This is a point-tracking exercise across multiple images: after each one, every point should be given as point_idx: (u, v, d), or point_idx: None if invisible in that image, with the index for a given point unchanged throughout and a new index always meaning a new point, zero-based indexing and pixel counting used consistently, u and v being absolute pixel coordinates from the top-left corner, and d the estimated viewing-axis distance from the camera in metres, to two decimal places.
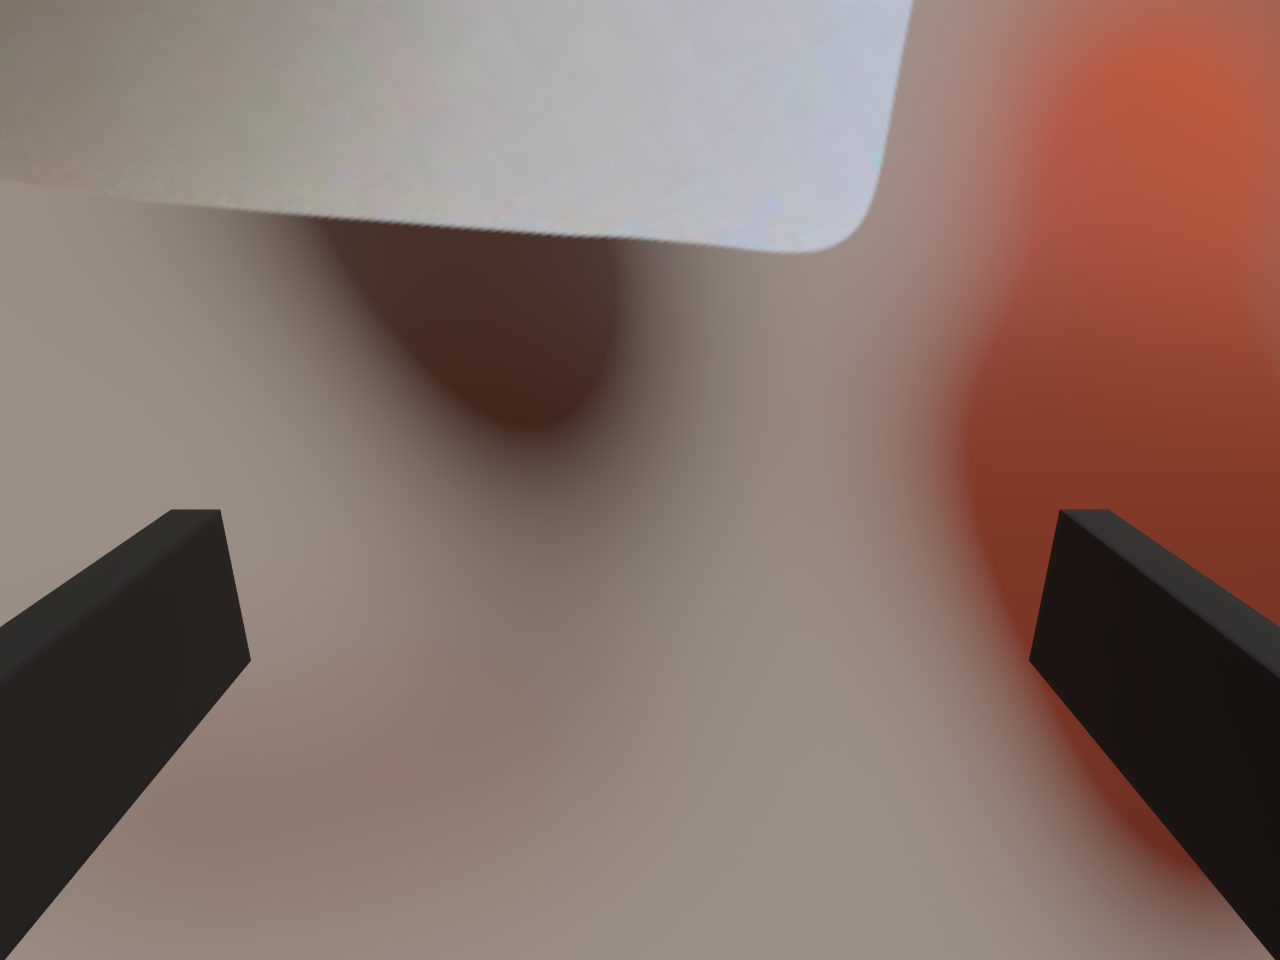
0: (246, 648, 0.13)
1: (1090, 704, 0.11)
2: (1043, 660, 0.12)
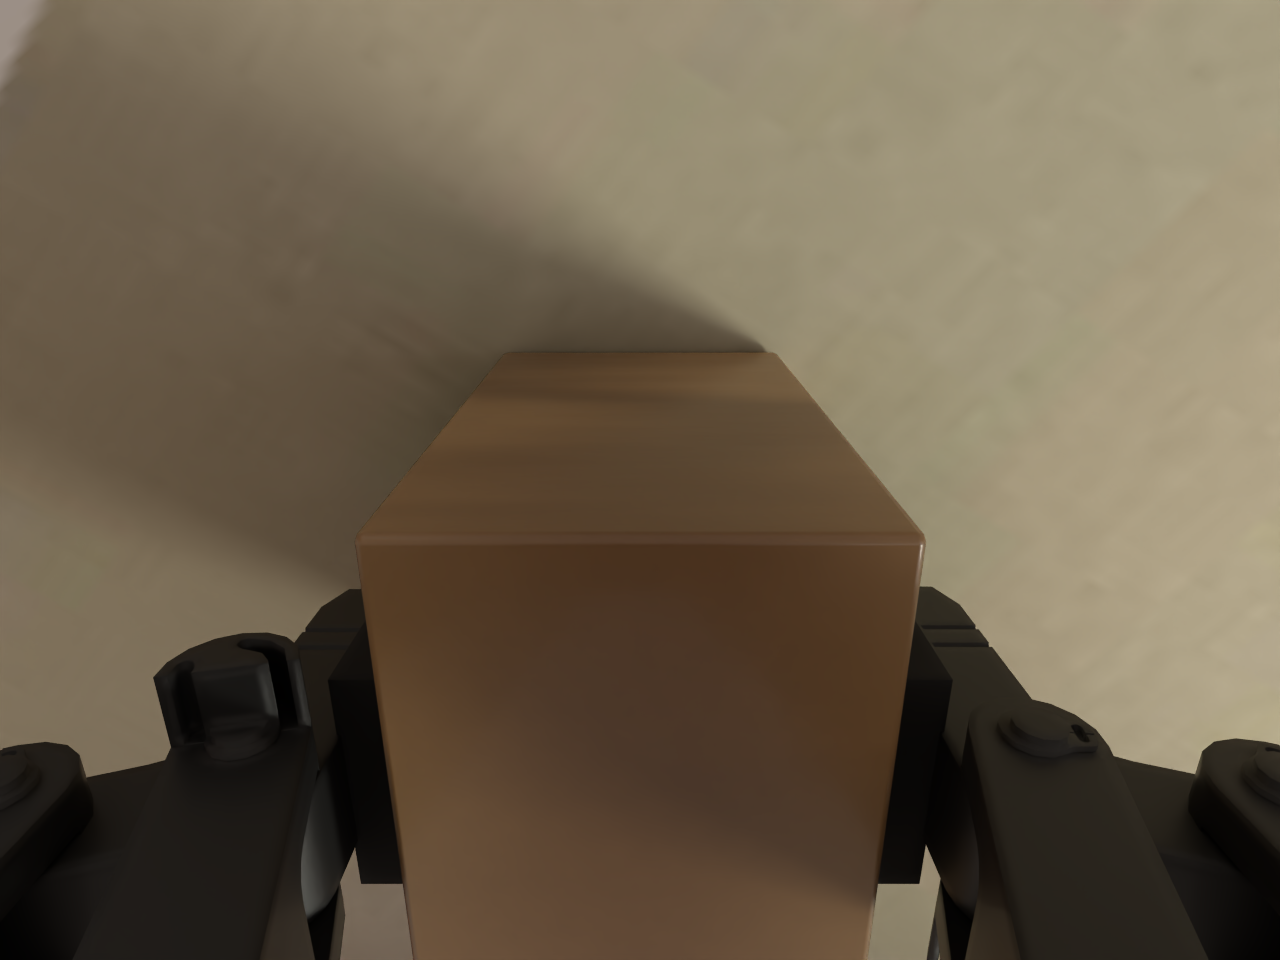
0: None
1: None
2: None
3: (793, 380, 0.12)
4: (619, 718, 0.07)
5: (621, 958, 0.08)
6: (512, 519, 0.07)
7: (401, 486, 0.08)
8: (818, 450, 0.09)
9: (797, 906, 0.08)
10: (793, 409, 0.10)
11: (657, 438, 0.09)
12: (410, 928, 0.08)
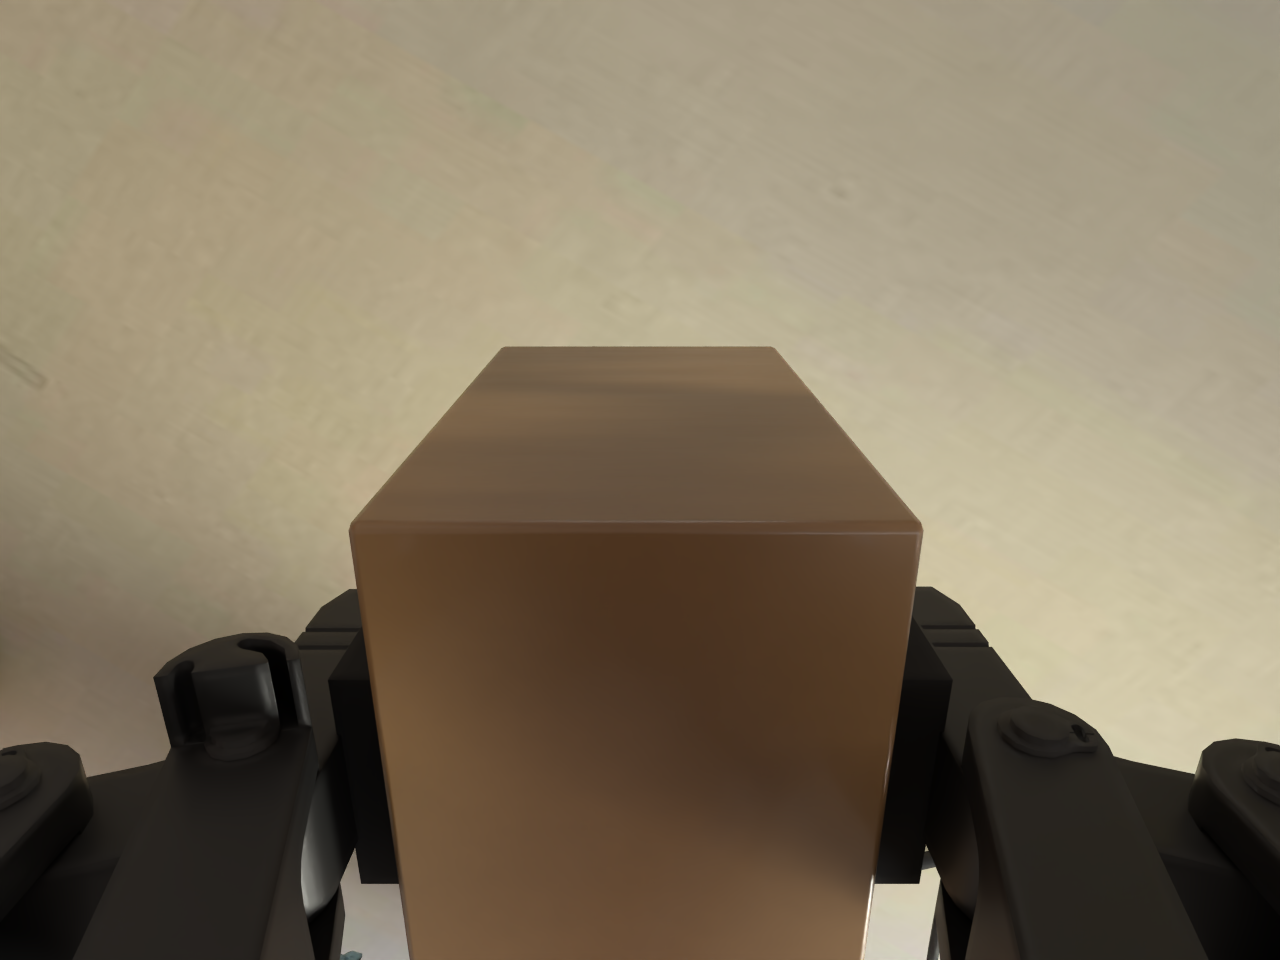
0: None
1: None
2: None
3: (791, 373, 0.12)
4: (614, 710, 0.07)
5: (617, 951, 0.08)
6: (507, 510, 0.07)
7: (396, 476, 0.07)
8: (816, 442, 0.08)
9: (795, 899, 0.08)
10: (792, 401, 0.10)
11: (654, 429, 0.09)
12: (405, 921, 0.08)
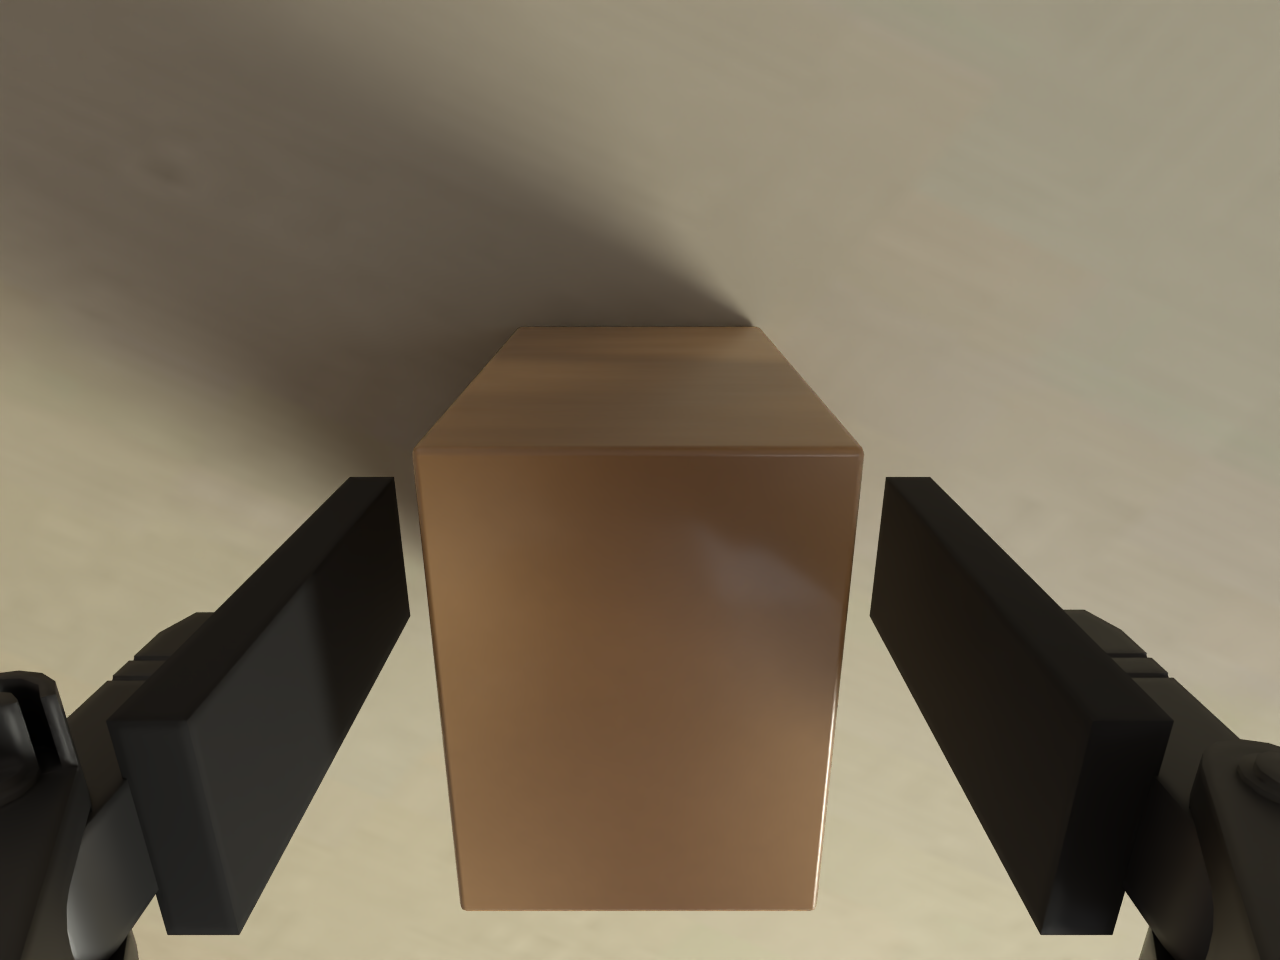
0: (407, 604, 0.14)
1: (902, 649, 0.13)
2: (877, 614, 0.14)
3: (772, 347, 0.13)
4: (621, 601, 0.09)
5: (623, 811, 0.10)
6: (535, 438, 0.08)
7: (444, 417, 0.09)
8: (787, 396, 0.10)
9: (767, 765, 0.10)
10: (769, 367, 0.12)
11: (653, 386, 0.11)
12: (449, 784, 0.10)
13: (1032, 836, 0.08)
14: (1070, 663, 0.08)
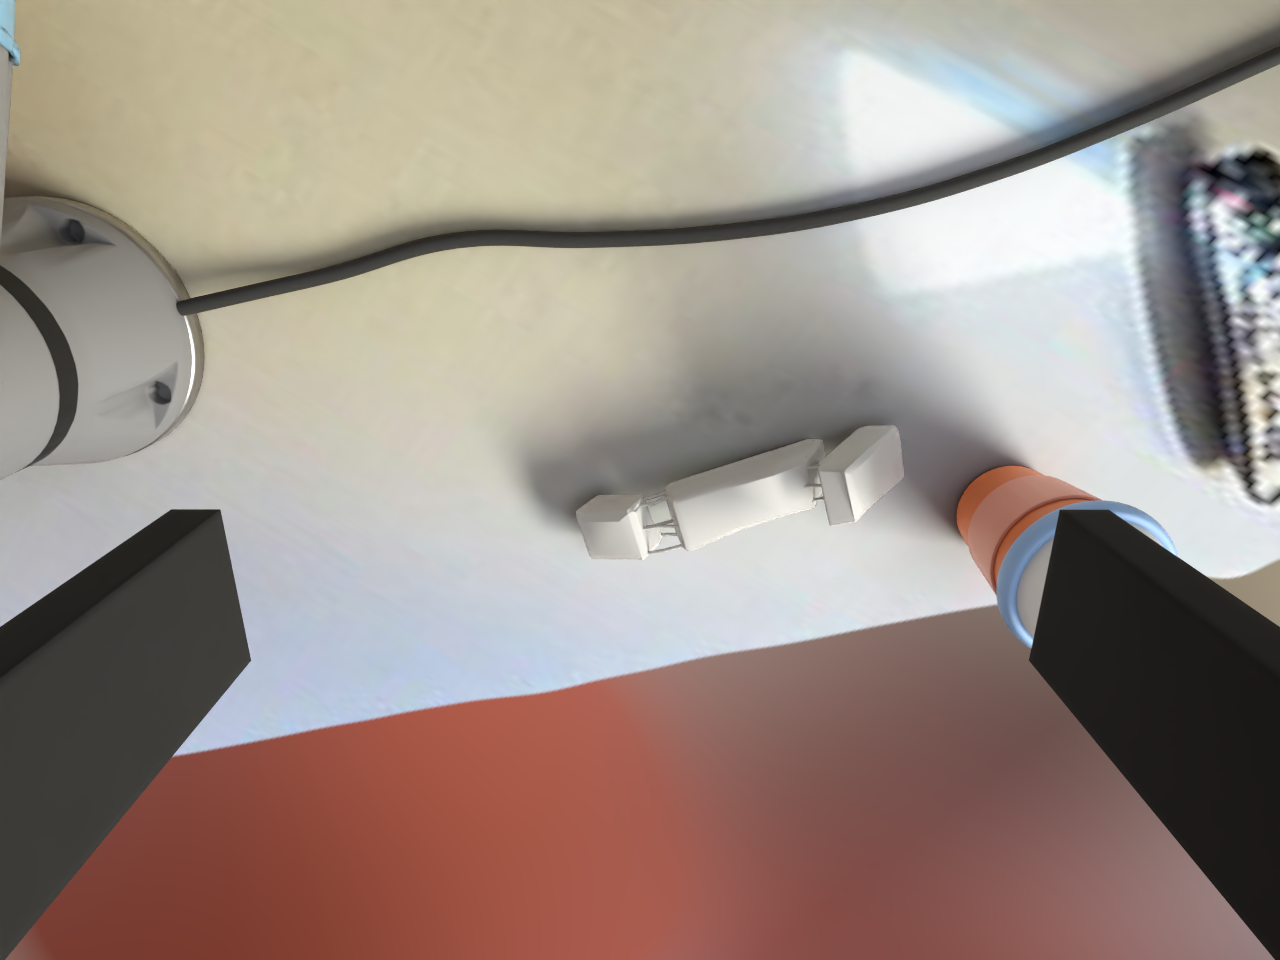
0: (246, 648, 0.13)
1: (1090, 704, 0.11)
2: (1043, 660, 0.12)
3: None
4: None
5: None
6: None
7: None
8: None
9: None
10: None
11: None
12: None
13: None
14: None
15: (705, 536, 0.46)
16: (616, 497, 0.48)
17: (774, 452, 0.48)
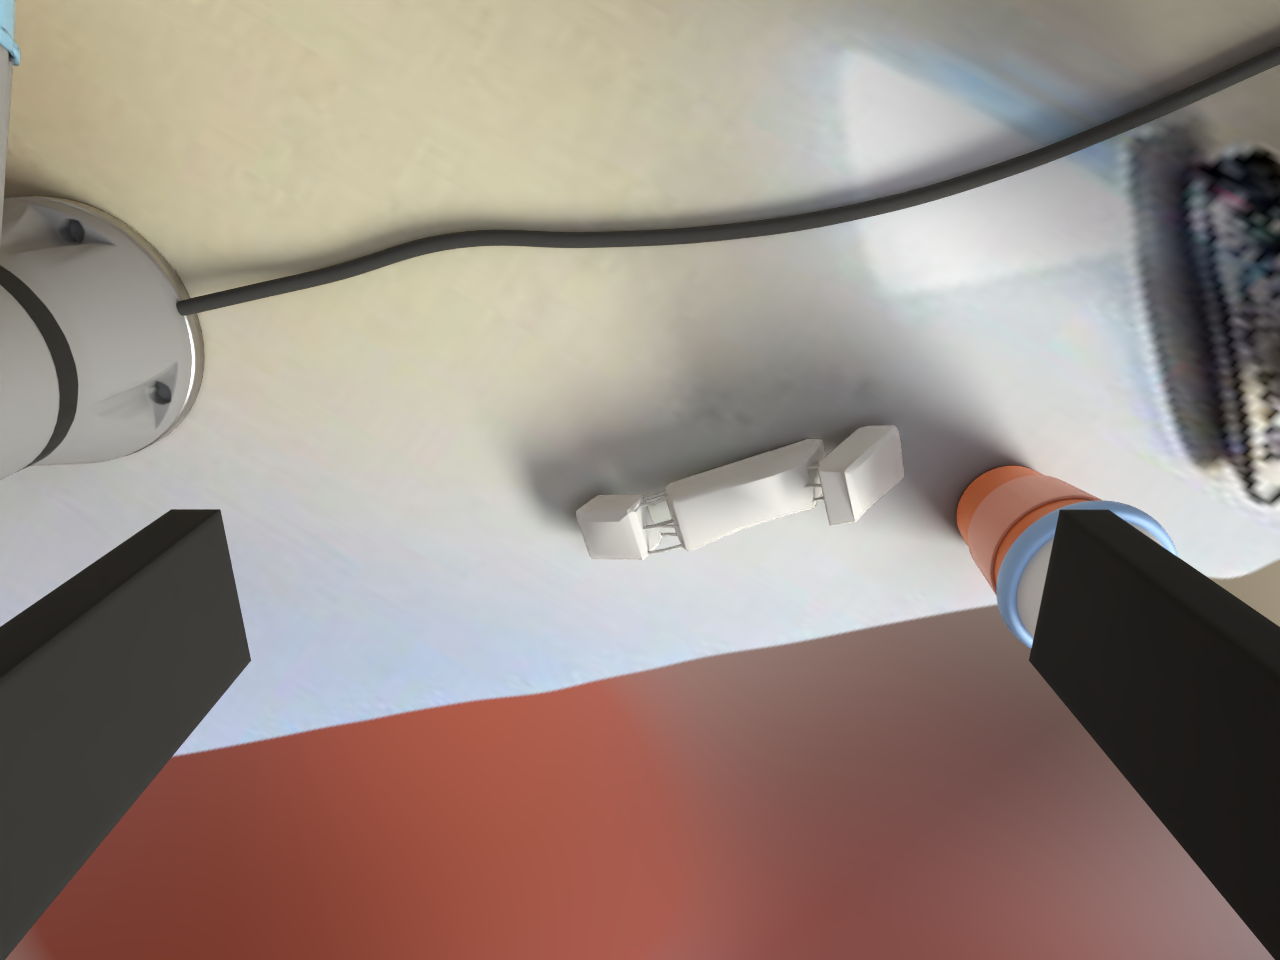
0: (246, 648, 0.13)
1: (1090, 704, 0.11)
2: (1043, 660, 0.12)
3: None
4: None
5: None
6: None
7: None
8: None
9: None
10: None
11: None
12: None
13: None
14: None
15: (705, 536, 0.46)
16: (616, 497, 0.48)
17: (774, 452, 0.48)
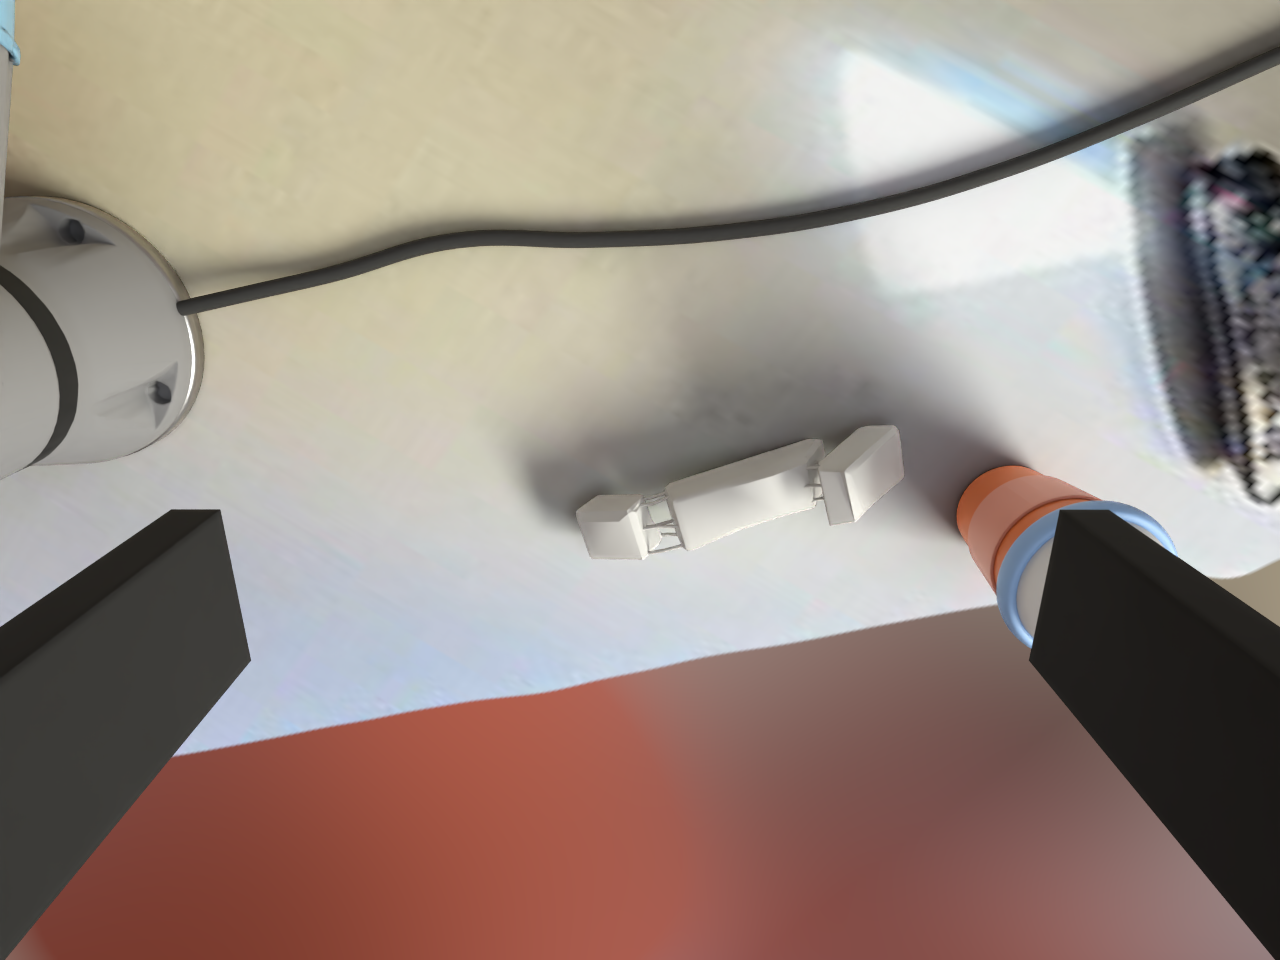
0: (246, 648, 0.13)
1: (1090, 704, 0.11)
2: (1043, 660, 0.12)
3: None
4: None
5: None
6: None
7: None
8: None
9: None
10: None
11: None
12: None
13: None
14: None
15: (705, 536, 0.46)
16: (616, 497, 0.48)
17: (774, 452, 0.48)
